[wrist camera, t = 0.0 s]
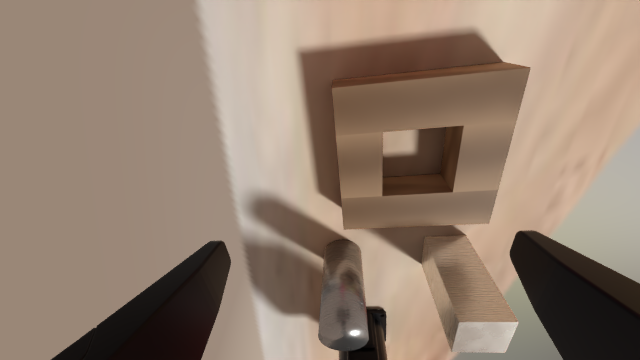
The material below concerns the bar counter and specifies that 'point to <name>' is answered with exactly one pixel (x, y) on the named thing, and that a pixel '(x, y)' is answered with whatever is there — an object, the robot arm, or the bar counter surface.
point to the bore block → (420, 113)
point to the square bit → (466, 296)
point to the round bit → (343, 298)
